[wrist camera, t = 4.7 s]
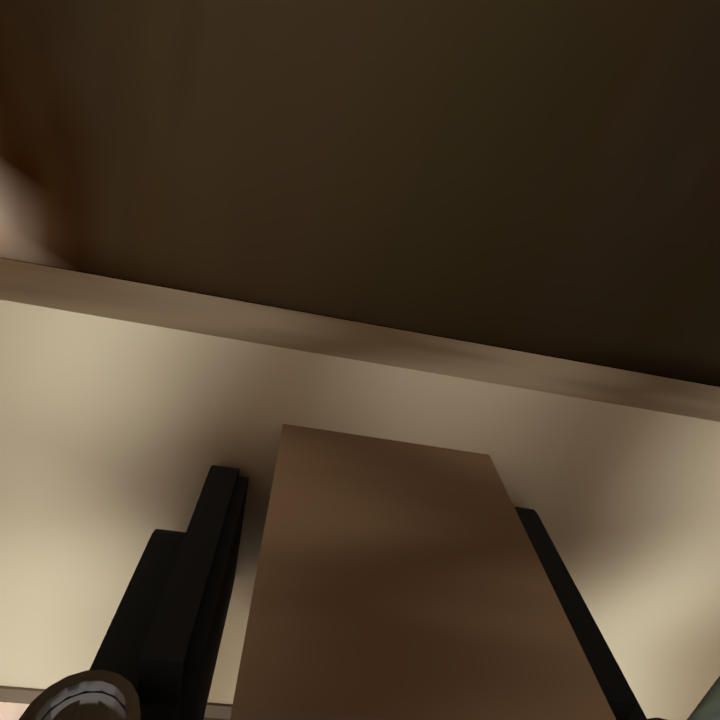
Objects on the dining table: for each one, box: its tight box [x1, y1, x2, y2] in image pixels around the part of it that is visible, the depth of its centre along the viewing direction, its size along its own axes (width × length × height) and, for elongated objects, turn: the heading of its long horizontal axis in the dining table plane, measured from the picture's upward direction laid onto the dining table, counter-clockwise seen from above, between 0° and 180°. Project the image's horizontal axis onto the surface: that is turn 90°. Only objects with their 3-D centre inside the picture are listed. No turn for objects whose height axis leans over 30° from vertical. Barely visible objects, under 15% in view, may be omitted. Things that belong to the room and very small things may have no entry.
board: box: [0, 258, 720, 720], centre depth 12 cm, size 24×10×2 cm, turn 78°
